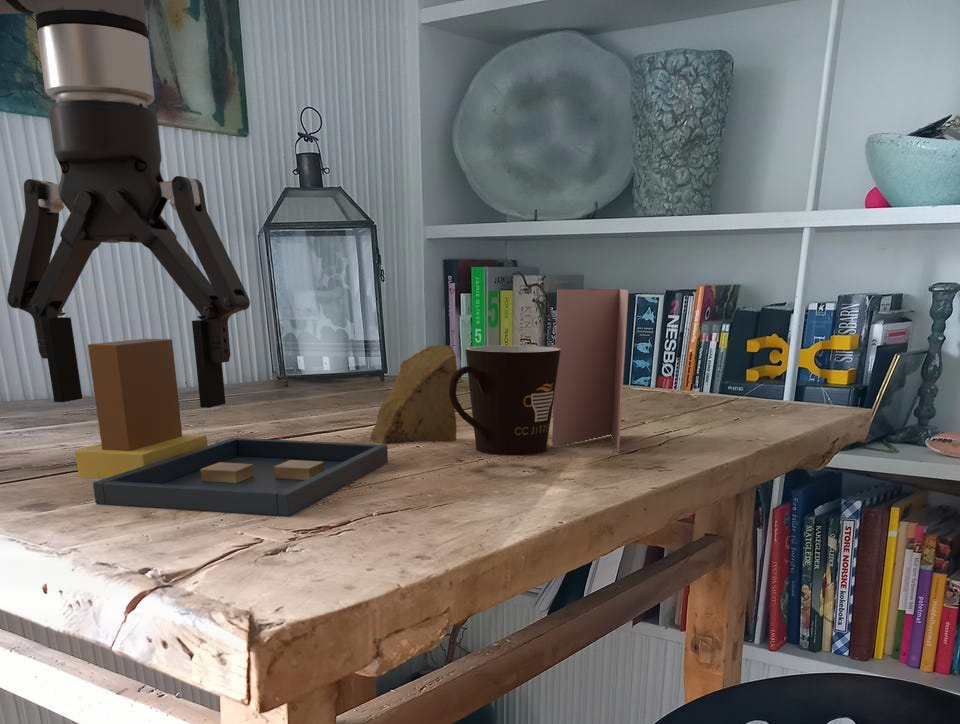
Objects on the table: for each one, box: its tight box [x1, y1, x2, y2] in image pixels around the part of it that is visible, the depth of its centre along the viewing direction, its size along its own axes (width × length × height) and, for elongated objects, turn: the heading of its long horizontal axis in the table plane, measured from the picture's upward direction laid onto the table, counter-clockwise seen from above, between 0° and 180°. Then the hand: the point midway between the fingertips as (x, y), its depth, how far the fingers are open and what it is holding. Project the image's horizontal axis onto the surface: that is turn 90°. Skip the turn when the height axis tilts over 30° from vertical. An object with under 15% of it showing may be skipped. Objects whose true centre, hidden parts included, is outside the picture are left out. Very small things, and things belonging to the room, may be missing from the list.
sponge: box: [74, 338, 209, 479], centre depth 76 cm, size 10×6×11 cm, turn 167°
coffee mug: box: [449, 345, 561, 457], centre depth 86 cm, size 12×9×10 cm
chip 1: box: [201, 462, 254, 484], centre depth 73 cm, size 3×3×1 cm
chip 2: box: [274, 460, 324, 480], centre depth 74 cm, size 3×3×1 cm
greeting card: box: [551, 288, 630, 454], centre depth 94 cm, size 11×7×15 cm, turn 141°
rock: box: [369, 344, 458, 445], centre depth 94 cm, size 11×9×10 cm
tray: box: [92, 437, 389, 518], centre depth 73 cm, size 15×21×2 cm
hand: (139, 403), depth 76 cm, fingers open, 12 cm apart
